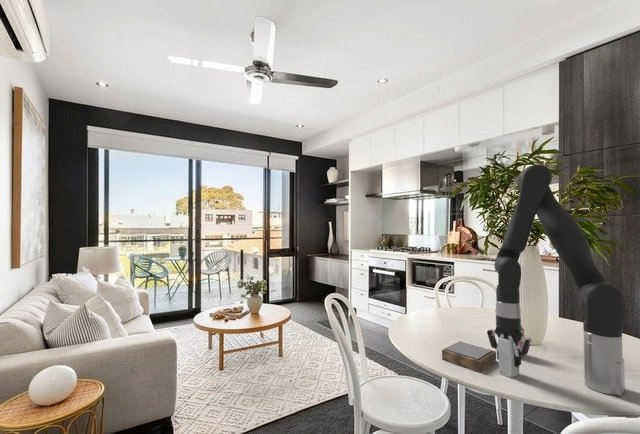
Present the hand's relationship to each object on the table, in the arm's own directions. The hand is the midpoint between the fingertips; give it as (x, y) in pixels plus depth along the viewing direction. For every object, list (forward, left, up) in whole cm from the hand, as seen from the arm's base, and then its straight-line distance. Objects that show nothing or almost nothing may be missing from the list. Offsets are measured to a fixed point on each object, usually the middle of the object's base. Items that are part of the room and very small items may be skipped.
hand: (508, 363), depth 112 cm
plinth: (+14, 0, -3) cm, 14 cm away
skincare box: (0, 0, -4) cm, 4 cm away
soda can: (+5, -19, -4) cm, 20 cm away
